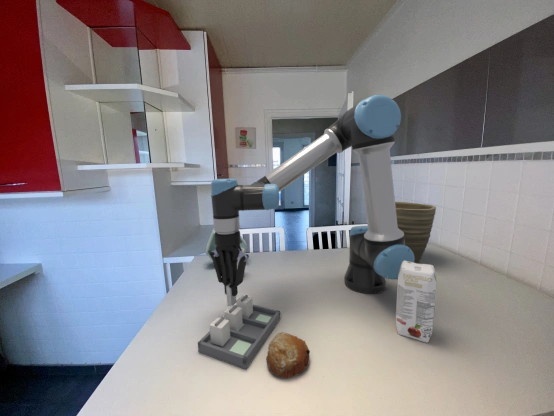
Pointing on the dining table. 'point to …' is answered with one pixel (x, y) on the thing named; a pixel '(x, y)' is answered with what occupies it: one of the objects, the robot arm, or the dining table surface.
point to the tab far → (245, 305)
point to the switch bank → (243, 338)
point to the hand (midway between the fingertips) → (232, 304)
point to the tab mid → (234, 317)
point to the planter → (212, 246)
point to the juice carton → (416, 300)
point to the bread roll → (287, 355)
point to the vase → (415, 225)
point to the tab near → (220, 331)
